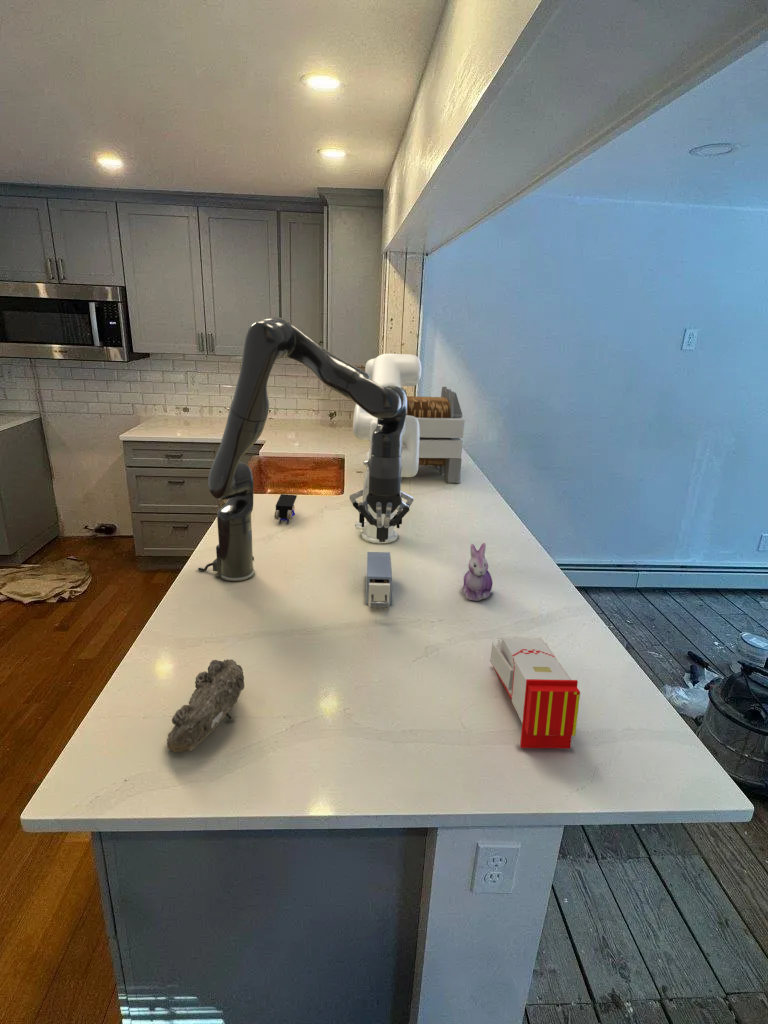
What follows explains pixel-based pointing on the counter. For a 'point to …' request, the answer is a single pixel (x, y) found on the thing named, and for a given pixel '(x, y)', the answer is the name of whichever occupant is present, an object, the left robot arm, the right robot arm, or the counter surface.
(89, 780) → the counter surface
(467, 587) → the figurine
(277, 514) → the figurine character
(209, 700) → the fossil
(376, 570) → the blue-grey slab
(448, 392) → the transformer
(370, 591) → the drawer
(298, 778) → the counter surface
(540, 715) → the toy
